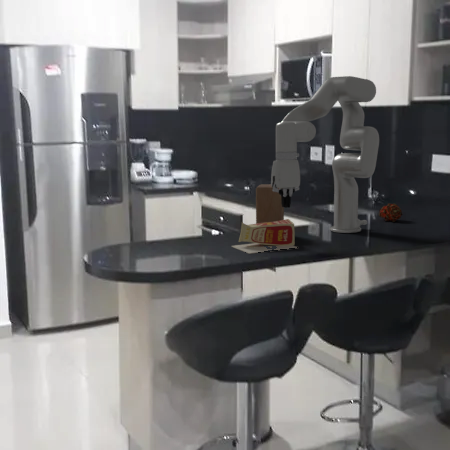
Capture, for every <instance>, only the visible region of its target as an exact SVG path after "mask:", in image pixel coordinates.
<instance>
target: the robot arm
mask: <svg viewBox="0 0 450 450" xmlns="http://www.w3.org/2000/svg"><path fill="white" fill-rule="evenodd" d="M376 94H377V87H376V84H375V83H374V82H373V81H372V80H370V79H367V78H362V77H356V76H352V75H349V76H348V75H347V76H345V75H343V76H332V77H328V78H327V79H326V80H324V81H323V82H322V84H321V86H319V88H318V89H317V91H316V92H314V94H313V95H312V96H311V98H310V99H309V100H307V101H305V102H303V103H302V104H300V105H298V106H297V107H295V108H294V109H292V110H290V111H289V112H288V113H287V114H286V116H284V118H283V119H282V121H281V122H278V123H276V125H275V160H273V162H272V165H271V176H270V178H271V179H270V184H271V186H272V187H273V190H272V191H273V192H278V193H279V194H280V196H281V204H282V207H284V209H287V208H291V203H292V202H291V201H292V196H293V194H294V193H295V192H297V191H300V190H301V189H300V186H301V171H300V170H301V169H300V163H299V160H298V158H299V157H300V153H299V152H298V149H297V148H298V147H297V146H298V144H297V143H307V142H310V141H312V140H313V139H314V138H315V137H316V133H317V129H316V126H315V124H313V123H312V121H315V120H318V119H320V118H323V117H326V116H327V115H328V114H329V113H330V111H331V110H332V109H333V107H334V106H335V105H336V103H337V102H338V103H339V105H340V107H341V110H342V123H341V127H340V128H341V129H340V135H339V144H340V147H341V148H342V149H343V150H349V151H360V153H355V152H353V153H352V152H343V153H341V152H340V153H338V154H336V155H335V156H334V157H333V159H332V162H331V166H332V173H333V184H334V191H333V193H334V194H333V195H334V196H333V225H332V226H330V227H329V230H330V231H331V232H334V233H340V234H341V233H343V234H353V233H359V232H361V231H362V228H361V226H362V225H364V226H365V225H367V224H368V221H367V219H362V220H360V218H358V217H359V216H358V215H359V214H358V213H359V211H358V210H359V186H358V183H357V181H356V179H355V178H358V179H359V178H360V179H368V178H370V177H372V176H373V174H374V173H375V170H376V166H377V161H378V160H377V159H378V152H379V147H380V135H379V132H378V129H377V128H375V127H374V126H368V125H367V126H366V125H365V123H364V122H365V112H364V109H363V107H362V105H361V104H360V103H369V102H371V101H373V100H374V98H375V97H376ZM364 125H365V126H364ZM278 188H279V189H278Z"/></svg>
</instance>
